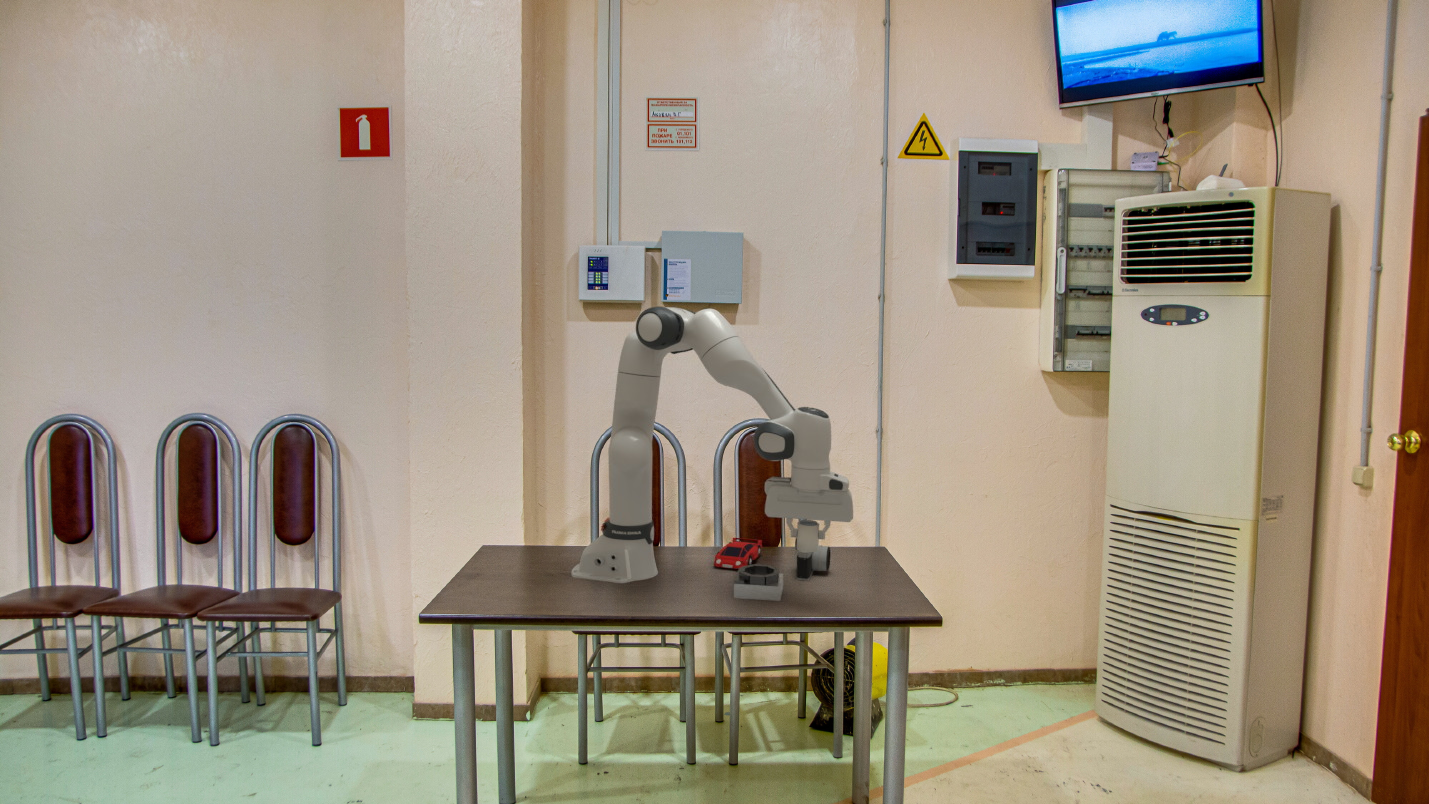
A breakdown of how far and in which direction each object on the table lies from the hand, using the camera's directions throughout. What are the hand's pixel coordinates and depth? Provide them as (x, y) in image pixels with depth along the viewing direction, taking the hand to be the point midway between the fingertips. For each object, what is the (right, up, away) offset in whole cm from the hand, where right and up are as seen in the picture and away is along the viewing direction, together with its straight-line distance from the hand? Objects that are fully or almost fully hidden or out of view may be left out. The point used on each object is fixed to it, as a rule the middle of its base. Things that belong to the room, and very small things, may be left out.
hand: (807, 537), depth 181 cm
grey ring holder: (-11, -15, +10) cm, 21 cm away
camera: (+4, -14, +27) cm, 31 cm away
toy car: (-15, -13, +37) cm, 42 cm away
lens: (0, -3, 0) cm, 3 cm away
